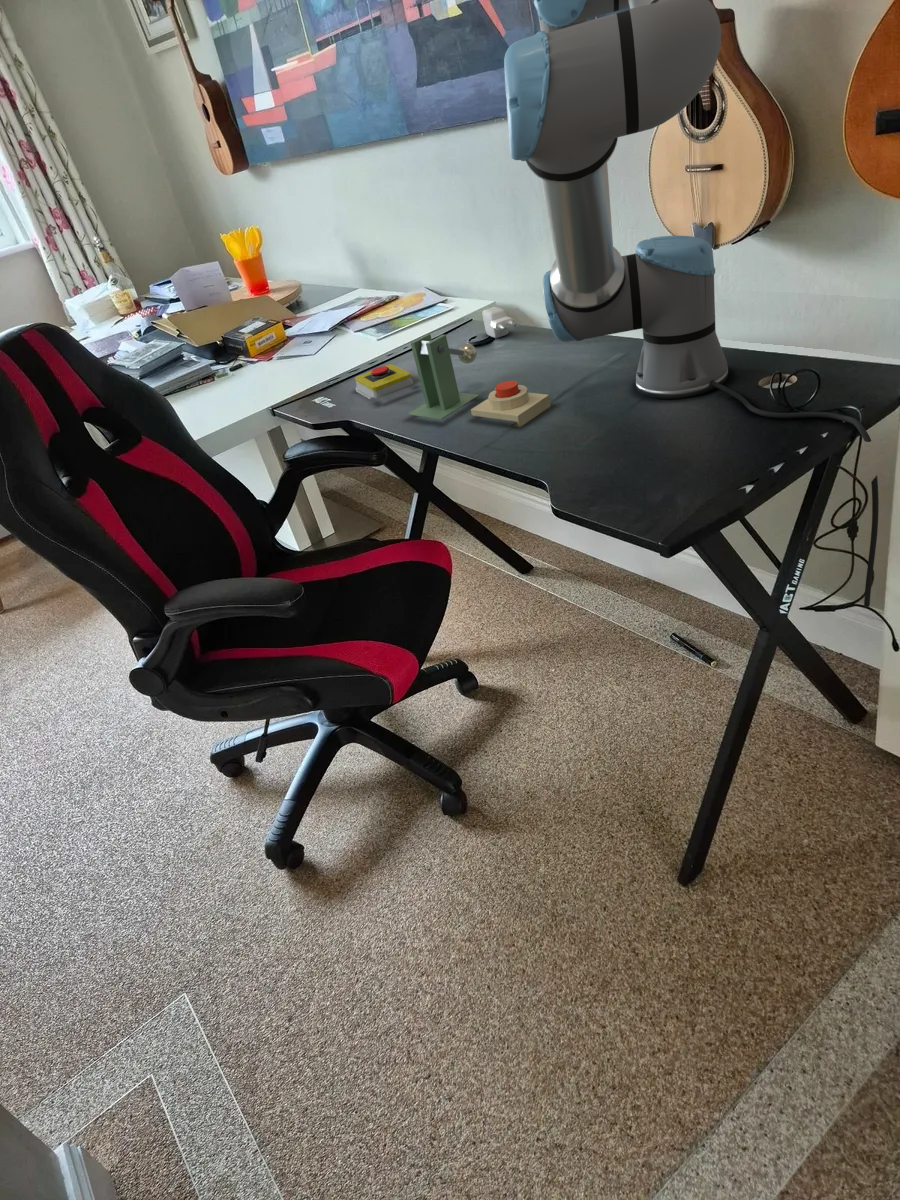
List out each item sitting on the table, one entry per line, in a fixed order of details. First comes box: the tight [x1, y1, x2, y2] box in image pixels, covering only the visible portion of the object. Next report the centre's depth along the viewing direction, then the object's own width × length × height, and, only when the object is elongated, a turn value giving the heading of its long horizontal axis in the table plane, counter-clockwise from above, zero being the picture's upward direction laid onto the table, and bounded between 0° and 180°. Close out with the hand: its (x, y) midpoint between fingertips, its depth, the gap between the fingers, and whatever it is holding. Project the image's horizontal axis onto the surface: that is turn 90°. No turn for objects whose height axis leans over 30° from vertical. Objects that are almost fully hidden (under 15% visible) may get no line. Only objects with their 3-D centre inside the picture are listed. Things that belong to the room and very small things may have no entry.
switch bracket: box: [407, 333, 480, 420], centre depth 145 cm, size 11×9×14 cm
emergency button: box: [355, 363, 414, 400], centre depth 164 cm, size 9×4×15 cm
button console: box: [470, 384, 552, 428], centre depth 139 cm, size 11×9×4 cm
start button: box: [494, 380, 519, 398], centre depth 137 cm, size 4×4×2 cm
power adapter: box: [481, 306, 517, 339], centre depth 176 cm, size 11×5×6 cm, turn 22°
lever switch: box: [420, 341, 478, 364], centre depth 145 cm, size 13×4×4 cm, turn 138°
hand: (585, 225), depth 140 cm, fingers closed
